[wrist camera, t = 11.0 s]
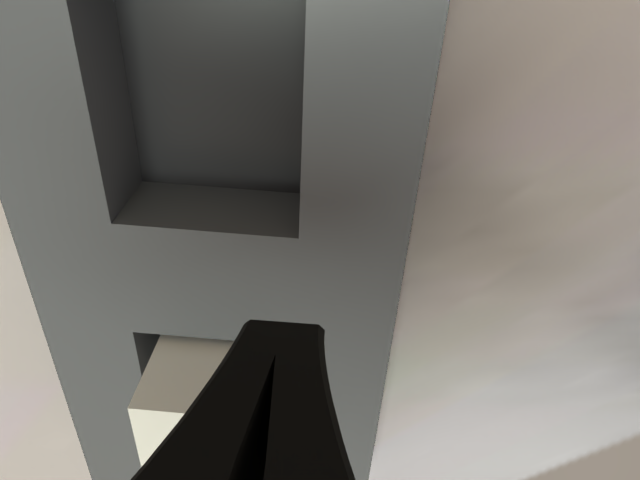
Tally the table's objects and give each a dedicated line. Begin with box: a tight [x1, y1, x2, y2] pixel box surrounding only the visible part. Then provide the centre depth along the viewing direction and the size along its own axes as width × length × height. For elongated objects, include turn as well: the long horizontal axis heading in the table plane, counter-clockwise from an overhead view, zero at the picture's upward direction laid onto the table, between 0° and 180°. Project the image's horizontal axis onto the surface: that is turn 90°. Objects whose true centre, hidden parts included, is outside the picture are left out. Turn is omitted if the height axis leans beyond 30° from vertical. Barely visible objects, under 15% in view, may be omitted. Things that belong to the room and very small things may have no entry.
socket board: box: [0, 0, 450, 480], centre depth 18 cm, size 12×24×3 cm, turn 177°
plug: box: [127, 335, 234, 467], centre depth 20 cm, size 4×5×6 cm
